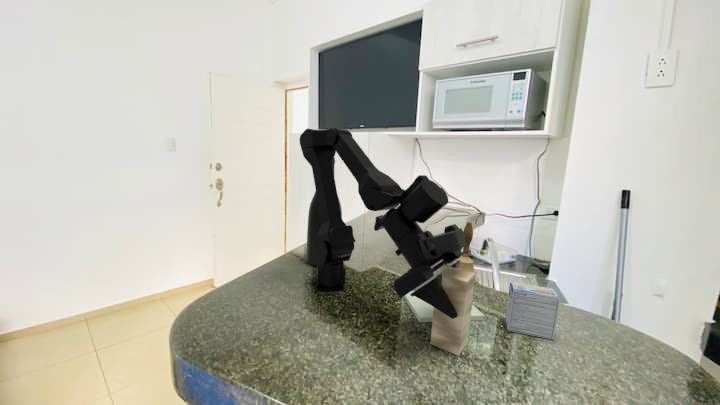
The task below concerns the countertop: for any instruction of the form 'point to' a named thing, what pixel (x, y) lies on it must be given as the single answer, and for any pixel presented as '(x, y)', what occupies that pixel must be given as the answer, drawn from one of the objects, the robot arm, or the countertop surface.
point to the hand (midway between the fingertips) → (460, 311)
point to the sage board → (432, 309)
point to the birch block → (460, 293)
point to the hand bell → (467, 252)
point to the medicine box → (532, 310)
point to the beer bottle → (314, 224)
